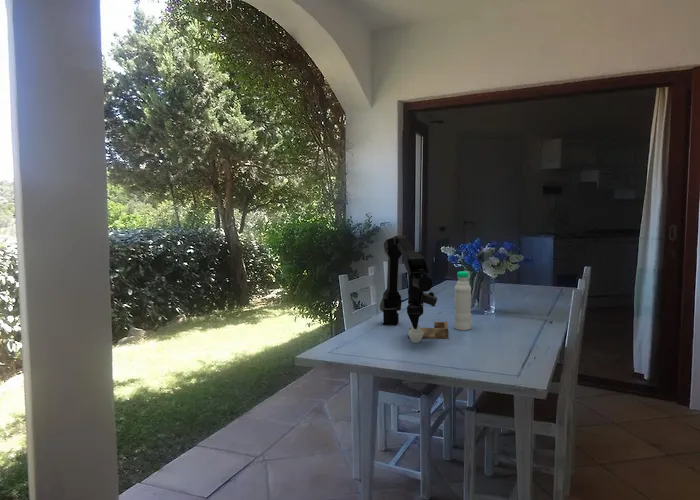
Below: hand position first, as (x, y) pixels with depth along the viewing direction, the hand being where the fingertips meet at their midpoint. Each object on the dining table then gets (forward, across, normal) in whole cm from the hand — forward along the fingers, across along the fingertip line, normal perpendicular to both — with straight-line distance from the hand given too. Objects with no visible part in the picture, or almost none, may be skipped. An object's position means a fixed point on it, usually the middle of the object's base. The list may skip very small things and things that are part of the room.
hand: (415, 326), depth 195 cm
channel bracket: (+6, +11, -5) cm, 14 cm away
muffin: (+6, 0, 0) cm, 7 cm away
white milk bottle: (+6, +21, -20) cm, 30 cm away
